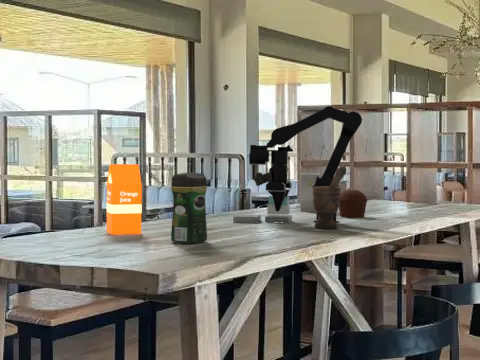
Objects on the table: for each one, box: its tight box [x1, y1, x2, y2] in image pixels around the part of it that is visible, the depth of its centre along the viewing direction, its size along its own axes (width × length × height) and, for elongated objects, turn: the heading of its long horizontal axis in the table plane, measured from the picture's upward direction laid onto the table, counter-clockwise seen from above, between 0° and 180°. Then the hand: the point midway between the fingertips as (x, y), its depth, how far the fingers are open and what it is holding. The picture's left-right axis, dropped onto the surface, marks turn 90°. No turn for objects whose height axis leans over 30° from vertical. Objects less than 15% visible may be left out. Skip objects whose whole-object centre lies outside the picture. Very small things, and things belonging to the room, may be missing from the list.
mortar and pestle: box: [313, 165, 347, 230], centre depth 249 cm, size 12×9×20 cm
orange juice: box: [106, 163, 143, 235], centre depth 230 cm, size 8×9×20 cm
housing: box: [266, 195, 291, 215], centre depth 269 cm, size 7×5×7 cm
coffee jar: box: [170, 172, 208, 245], centre depth 209 cm, size 10×8×19 cm
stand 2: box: [264, 214, 293, 224], centre depth 269 cm, size 8×8×2 cm
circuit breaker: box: [299, 172, 321, 212], centre depth 320 cm, size 8×14×15 cm, turn 174°
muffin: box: [338, 189, 369, 219], centre depth 292 cm, size 12×11×10 cm
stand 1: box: [232, 214, 262, 224], centre depth 268 cm, size 8×8×2 cm
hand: (278, 210), depth 269 cm, fingers closed on housing, 5 cm apart
